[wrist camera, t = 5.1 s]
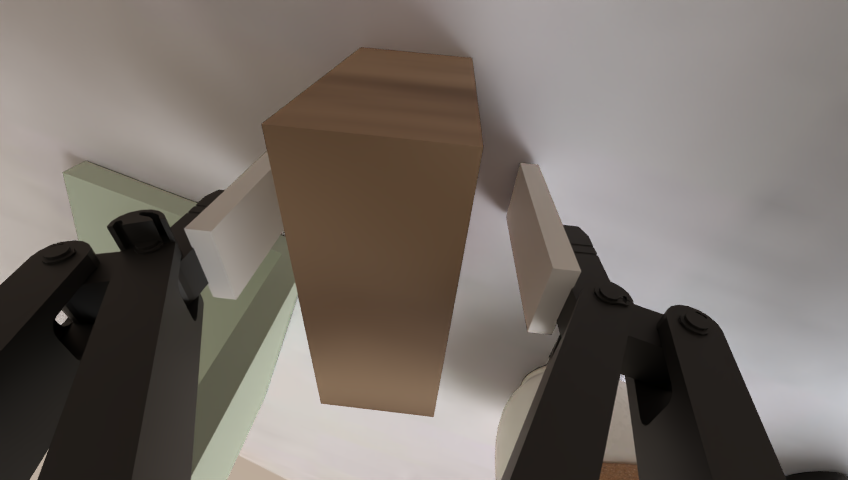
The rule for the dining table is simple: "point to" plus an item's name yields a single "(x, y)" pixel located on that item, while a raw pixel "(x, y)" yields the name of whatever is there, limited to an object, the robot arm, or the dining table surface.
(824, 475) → the mug
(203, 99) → the dining table surface
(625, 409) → the lidded jar
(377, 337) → the brown tapered block
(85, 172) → the ledge
